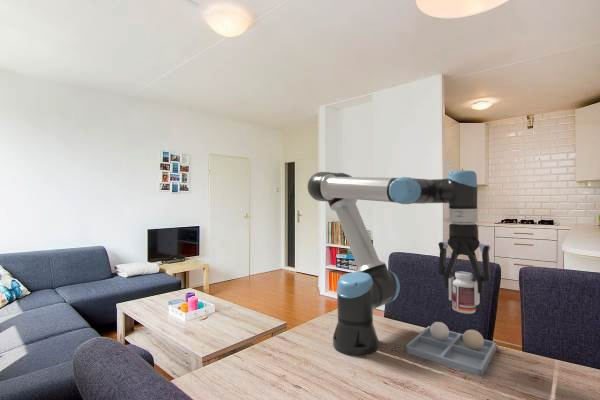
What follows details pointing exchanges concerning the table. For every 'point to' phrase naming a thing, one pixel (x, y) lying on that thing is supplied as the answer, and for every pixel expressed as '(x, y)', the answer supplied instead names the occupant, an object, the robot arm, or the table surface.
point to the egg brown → (473, 339)
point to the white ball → (439, 331)
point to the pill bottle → (463, 293)
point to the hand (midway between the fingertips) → (464, 301)
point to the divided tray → (452, 352)
